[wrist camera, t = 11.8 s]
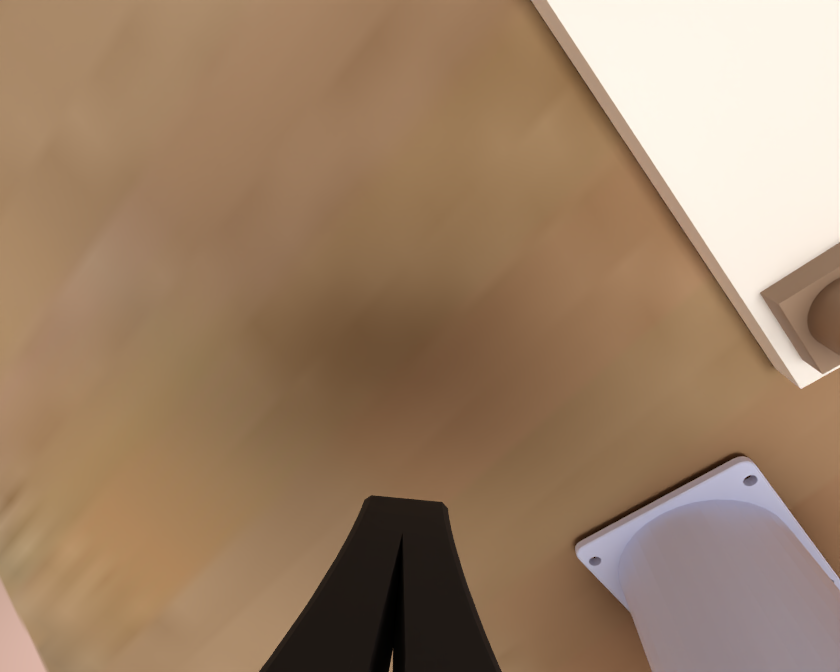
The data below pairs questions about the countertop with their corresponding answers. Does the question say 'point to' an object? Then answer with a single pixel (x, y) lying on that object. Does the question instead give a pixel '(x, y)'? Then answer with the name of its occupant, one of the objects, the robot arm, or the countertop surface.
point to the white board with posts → (733, 146)
